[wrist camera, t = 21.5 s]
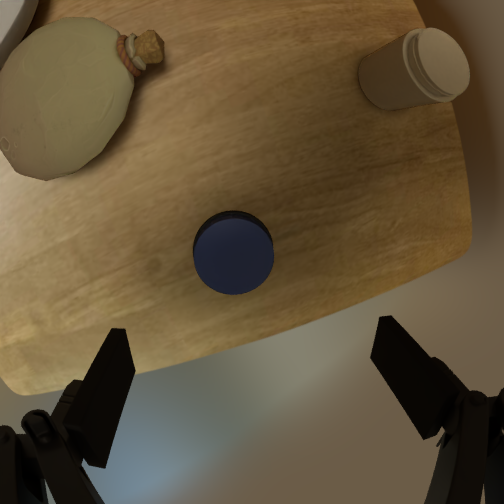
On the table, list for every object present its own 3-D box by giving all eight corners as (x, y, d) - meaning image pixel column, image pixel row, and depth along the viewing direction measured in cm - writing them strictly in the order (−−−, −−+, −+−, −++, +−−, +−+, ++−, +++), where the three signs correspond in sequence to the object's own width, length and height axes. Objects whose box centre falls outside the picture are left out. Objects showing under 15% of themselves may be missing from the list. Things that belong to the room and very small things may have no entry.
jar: (419, 79, 27) (480, 64, 17) (397, 123, 28) (460, 117, 18) (373, 41, 25) (426, 9, 15) (347, 84, 27) (401, 59, 17)
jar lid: (223, 198, 28) (223, 201, 27) (286, 242, 30) (290, 247, 28) (180, 261, 30) (177, 268, 28) (242, 299, 32) (243, 308, 30)
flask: (14, 76, 22) (153, 4, 22) (43, 197, 27) (193, 129, 28) (-32, 61, 13) (138, -41, 14) (-6, 212, 18) (187, 115, 19)
